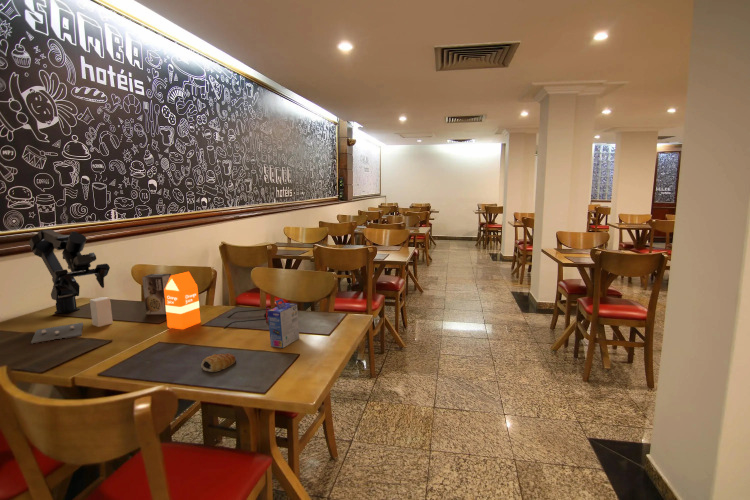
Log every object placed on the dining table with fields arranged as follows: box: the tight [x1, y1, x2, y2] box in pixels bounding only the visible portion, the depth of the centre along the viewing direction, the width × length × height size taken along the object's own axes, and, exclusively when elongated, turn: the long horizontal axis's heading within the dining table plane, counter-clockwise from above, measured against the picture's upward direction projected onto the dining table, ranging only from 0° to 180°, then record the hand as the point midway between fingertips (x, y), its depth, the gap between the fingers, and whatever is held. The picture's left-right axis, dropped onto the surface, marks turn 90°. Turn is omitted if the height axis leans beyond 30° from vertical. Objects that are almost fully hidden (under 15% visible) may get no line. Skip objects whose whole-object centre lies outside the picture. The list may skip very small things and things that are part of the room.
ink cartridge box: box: [267, 298, 300, 349], centre depth 136 cm, size 10×6×14 cm, turn 158°
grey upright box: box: [142, 273, 172, 315], centre depth 173 cm, size 9×6×16 cm
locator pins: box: [42, 325, 74, 336], centre depth 148 cm, size 5×9×2 cm, turn 123°
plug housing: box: [89, 296, 114, 328], centre depth 159 cm, size 5×5×10 cm
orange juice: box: [164, 271, 201, 330], centre depth 156 cm, size 8×9×20 cm
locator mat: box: [30, 322, 84, 344], centre depth 150 cm, size 16×14×1 cm
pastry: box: [200, 353, 237, 373], centre depth 119 cm, size 9×7×4 cm
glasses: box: [223, 304, 270, 330], centre depth 160 cm, size 14×16×5 cm
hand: (90, 289), depth 162 cm, fingers open, 9 cm apart
